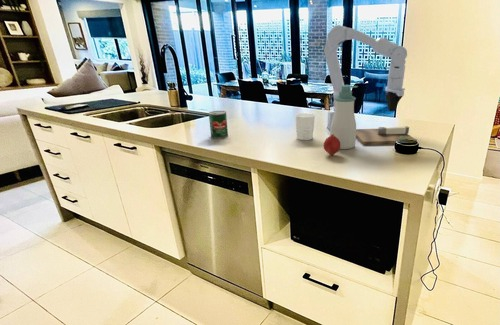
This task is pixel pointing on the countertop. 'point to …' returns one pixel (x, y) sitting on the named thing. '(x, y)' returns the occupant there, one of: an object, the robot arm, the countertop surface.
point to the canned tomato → (218, 124)
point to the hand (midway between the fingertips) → (391, 110)
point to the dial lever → (393, 130)
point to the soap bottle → (344, 118)
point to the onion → (332, 145)
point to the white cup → (305, 126)
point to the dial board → (379, 137)
